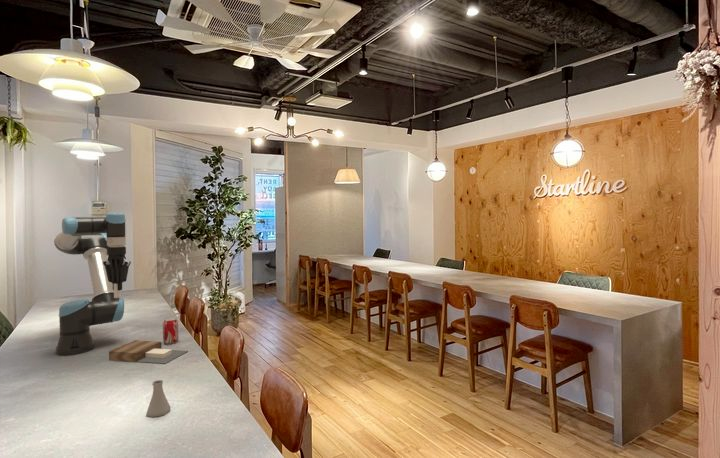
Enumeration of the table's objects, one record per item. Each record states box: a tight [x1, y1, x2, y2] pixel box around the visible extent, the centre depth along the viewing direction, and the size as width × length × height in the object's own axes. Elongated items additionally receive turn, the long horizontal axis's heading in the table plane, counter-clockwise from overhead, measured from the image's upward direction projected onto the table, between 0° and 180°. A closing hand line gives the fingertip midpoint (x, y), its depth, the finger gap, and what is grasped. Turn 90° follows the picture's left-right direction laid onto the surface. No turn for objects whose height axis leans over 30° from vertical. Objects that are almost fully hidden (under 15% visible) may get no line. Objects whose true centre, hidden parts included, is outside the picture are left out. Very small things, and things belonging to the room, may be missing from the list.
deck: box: [108, 339, 162, 363], centre depth 184 cm, size 14×16×4 cm
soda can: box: [162, 317, 179, 345], centre depth 202 cm, size 7×7×12 cm
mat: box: [136, 349, 189, 365], centre depth 181 cm, size 14×16×1 cm
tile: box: [145, 348, 173, 358], centre depth 182 cm, size 9×6×2 cm, turn 81°
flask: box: [145, 379, 171, 418], centre depth 130 cm, size 7×7×10 cm
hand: (117, 297), depth 185 cm, fingers closed
